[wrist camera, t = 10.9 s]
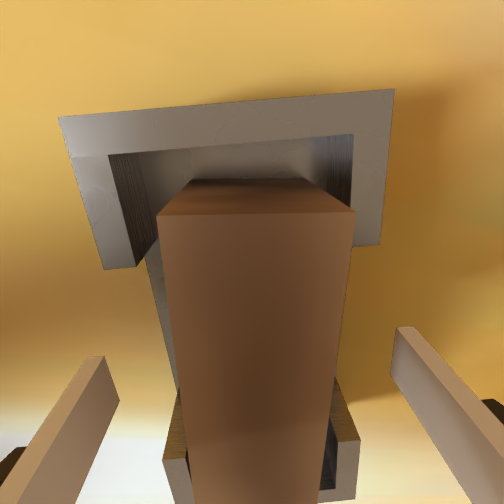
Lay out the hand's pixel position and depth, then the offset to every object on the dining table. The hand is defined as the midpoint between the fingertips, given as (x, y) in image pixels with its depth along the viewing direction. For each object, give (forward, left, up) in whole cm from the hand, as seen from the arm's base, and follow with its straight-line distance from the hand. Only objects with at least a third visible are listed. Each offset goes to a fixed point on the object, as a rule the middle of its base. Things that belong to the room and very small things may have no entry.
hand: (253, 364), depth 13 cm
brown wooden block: (0, 0, -3) cm, 3 cm away
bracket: (0, 0, -6) cm, 6 cm away
